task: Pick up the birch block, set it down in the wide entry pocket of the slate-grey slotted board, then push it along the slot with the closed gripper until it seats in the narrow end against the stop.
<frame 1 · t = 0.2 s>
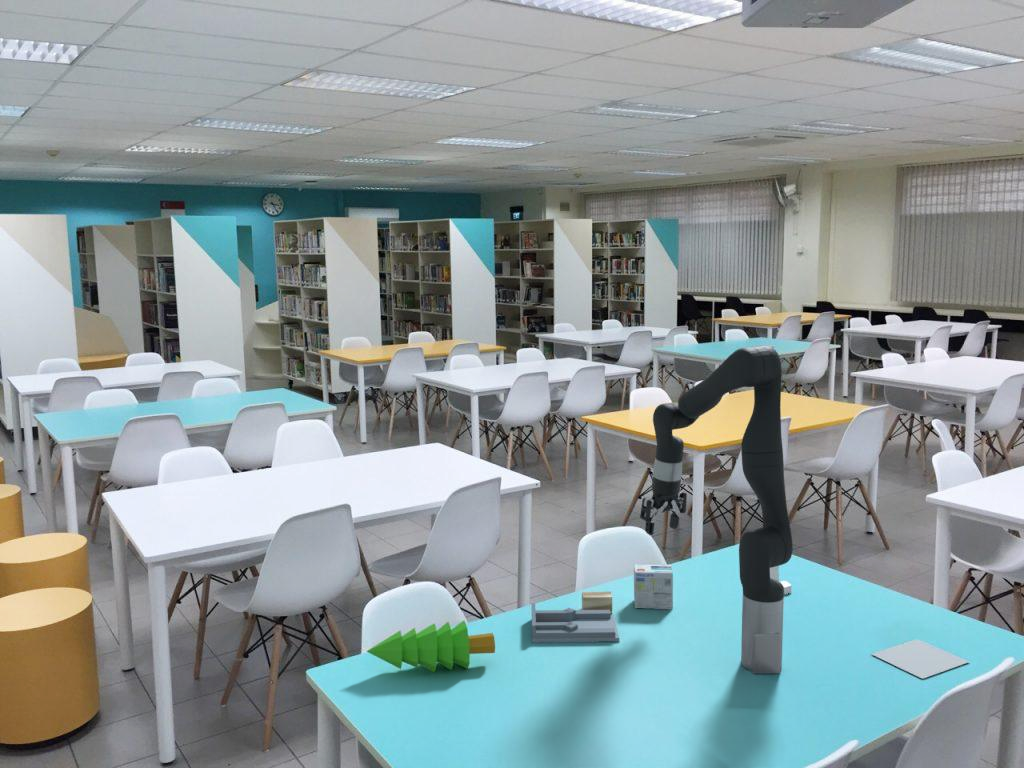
hand: (661, 530, 226), 23 cm above the table, tool pointing down, fingers open, 8 cm apart
light bulb box: (653, 605, 233), on the table
slot board: (574, 630, 218), on the table
paper stack: (913, 649, 205), on the table
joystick: (769, 591, 242), on the table
decorative tree: (431, 668, 198), on the table
birch block: (596, 611, 229), on the table
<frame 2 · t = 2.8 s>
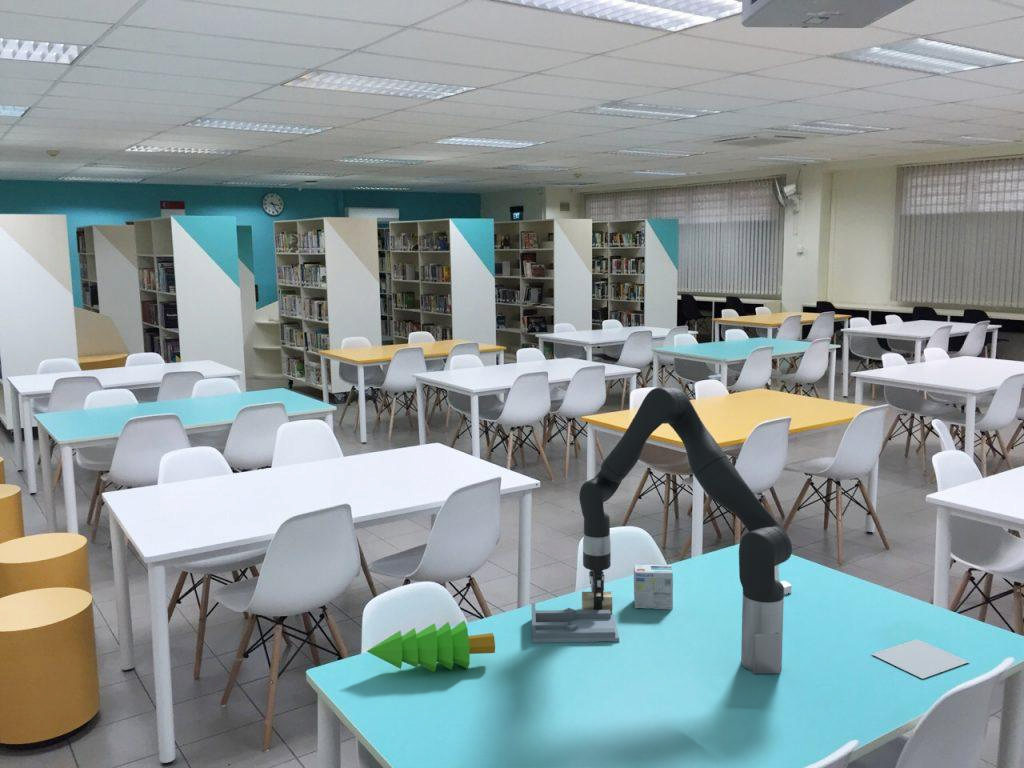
hand: (596, 607, 229), 1 cm above the table, tool pointing down, fingers open, 7 cm apart
nothing on the table moved.
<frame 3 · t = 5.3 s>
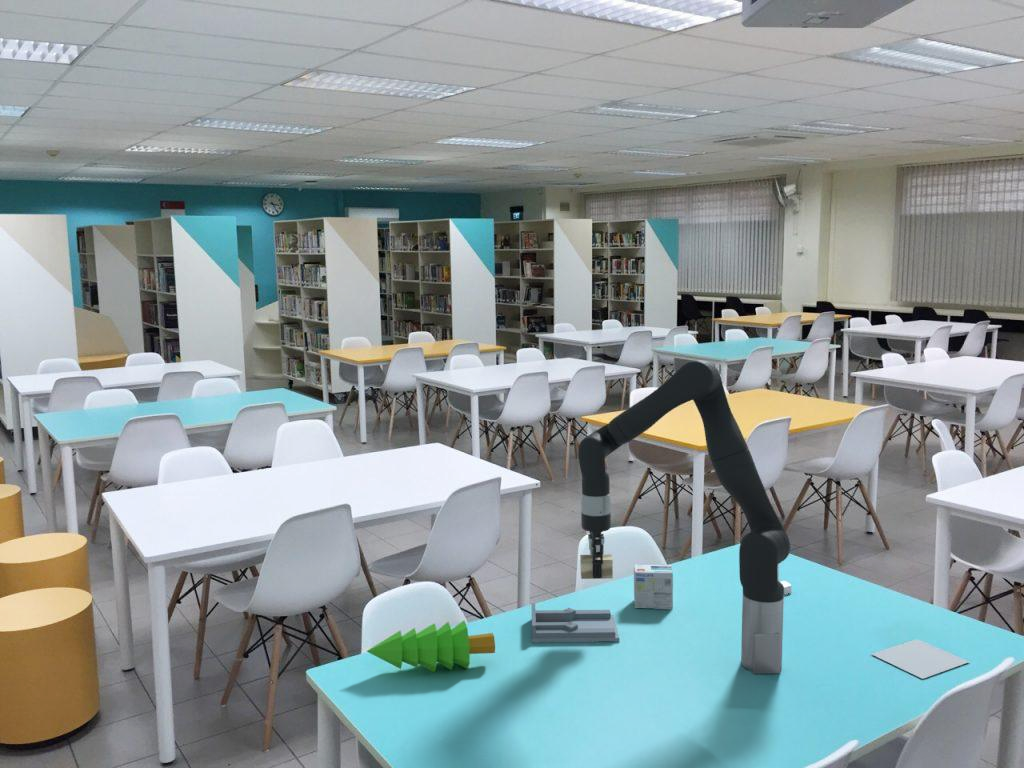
hand: (596, 574, 216), 15 cm above the table, tool pointing down, fingers closed on birch block, 4 cm apart
birch block: (596, 575, 216), point 15 cm above the table, touching gripper
everything else where it was.
when the fingers open (3 cm above the table, at t = 7.1 s): birch block drops 2 cm, resting on slot board.
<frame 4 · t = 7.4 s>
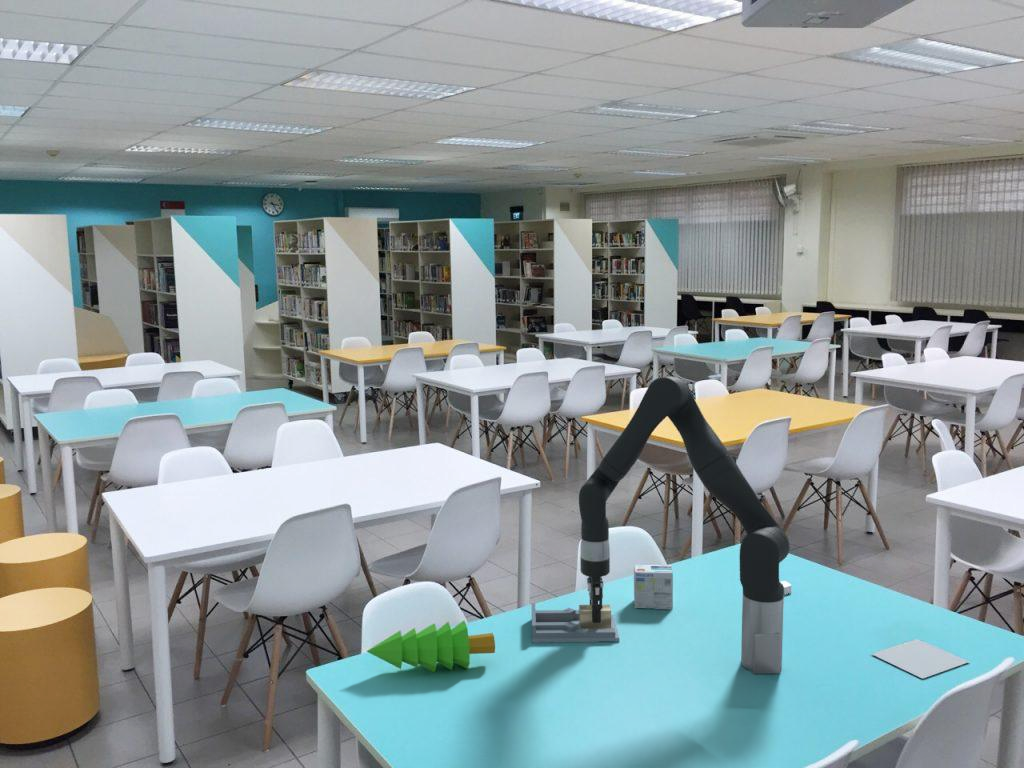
hand: (595, 616, 217), 4 cm above the table, tool pointing down, fingers open, 7 cm apart
birch block: (595, 626, 218), point 1 cm above the table, touching slot board
everything else where it was.
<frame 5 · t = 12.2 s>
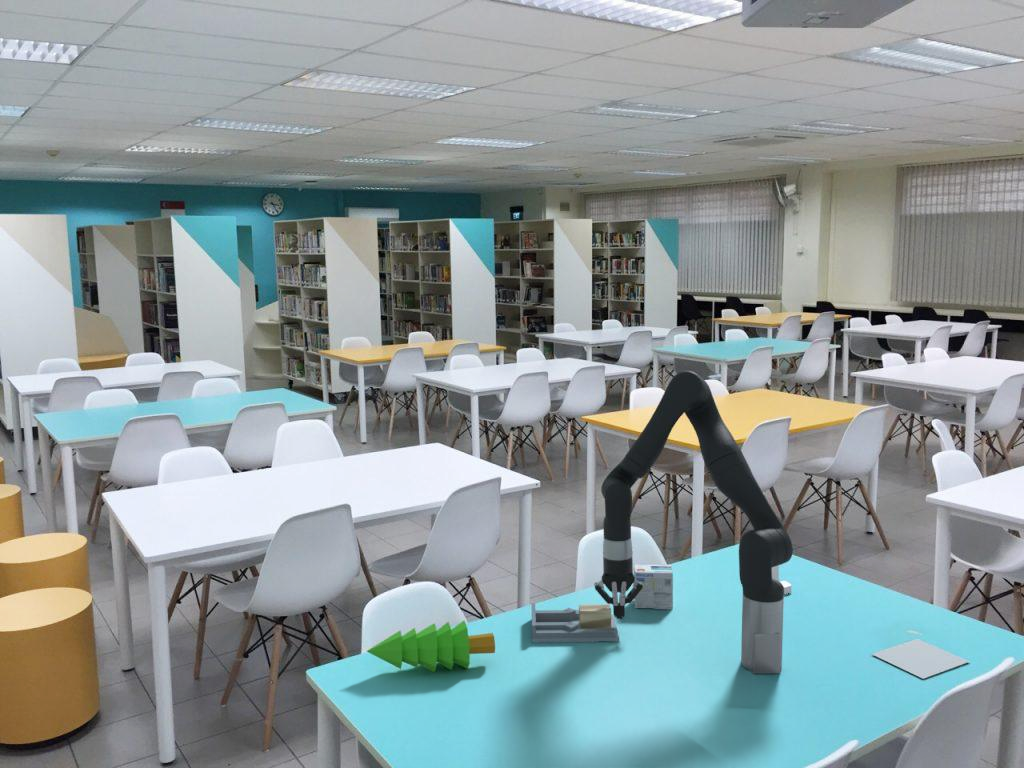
hand: (619, 617, 217), 3 cm above the table, tool pointing down, fingers closed
birch block: (595, 626, 218), point 1 cm above the table, touching gripper, slot board
everything else where it was.
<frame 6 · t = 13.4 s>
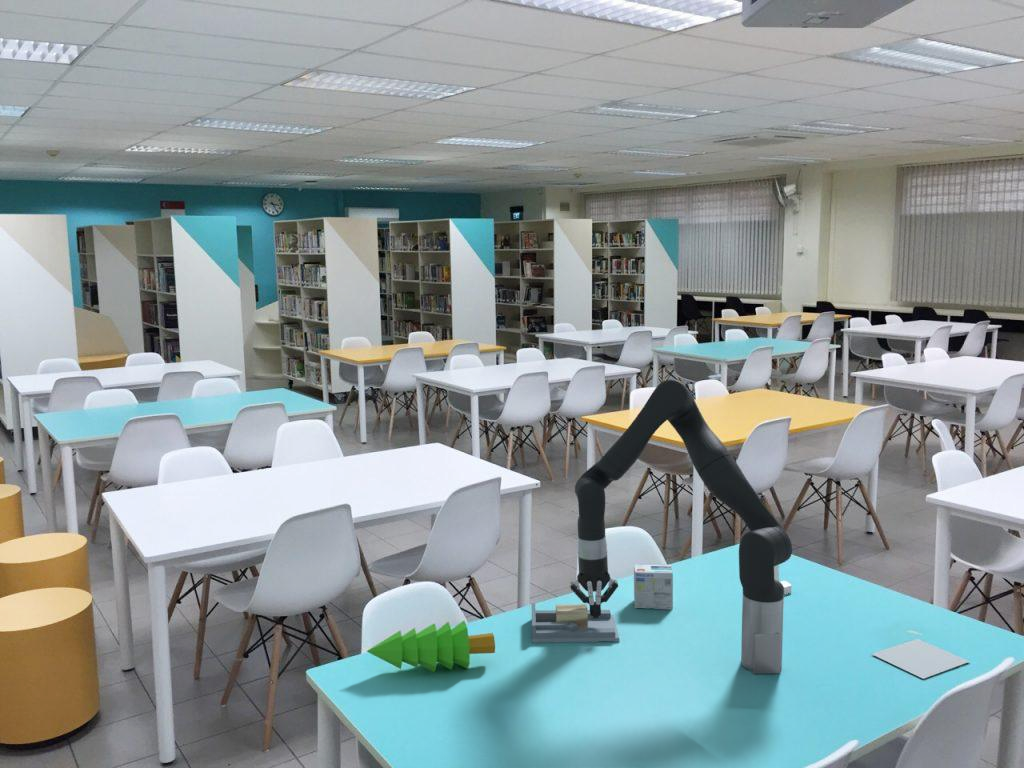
hand: (595, 616, 218), 3 cm above the table, tool pointing down, fingers closed
birch block: (571, 625, 218), point 1 cm above the table, touching gripper, slot board
everything else where it was.
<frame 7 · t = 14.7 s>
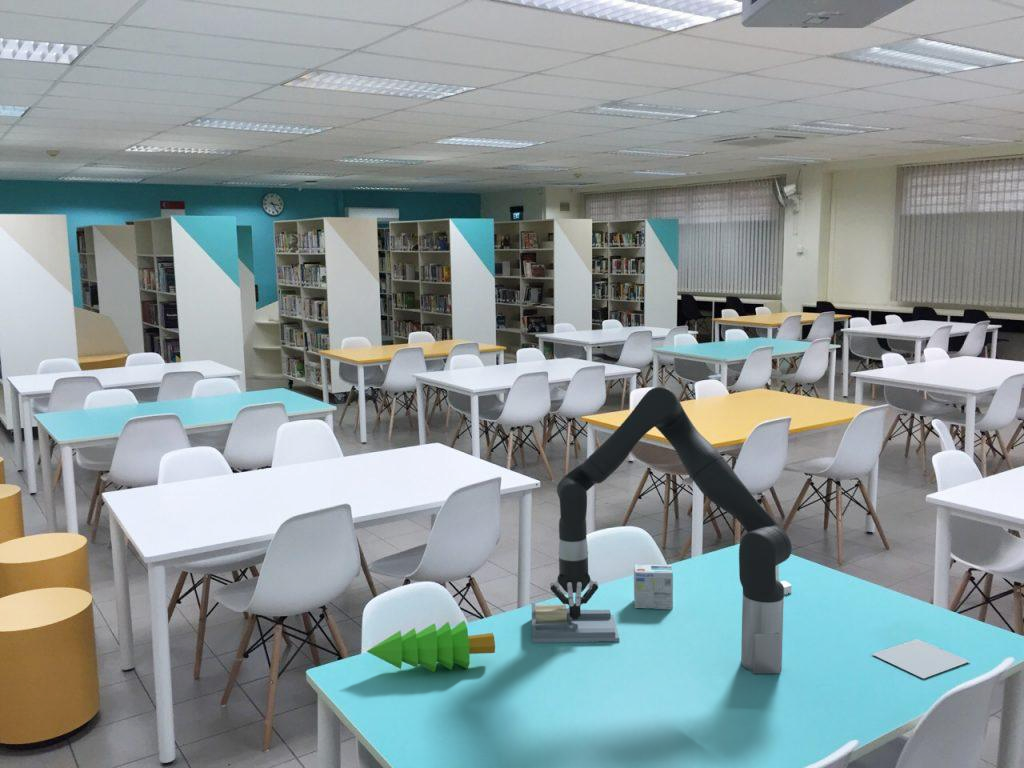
hand: (574, 618, 217), 3 cm above the table, tool pointing down, fingers closed
birch block: (551, 626, 218), point 1 cm above the table, touching gripper, slot board
everything else where it was.
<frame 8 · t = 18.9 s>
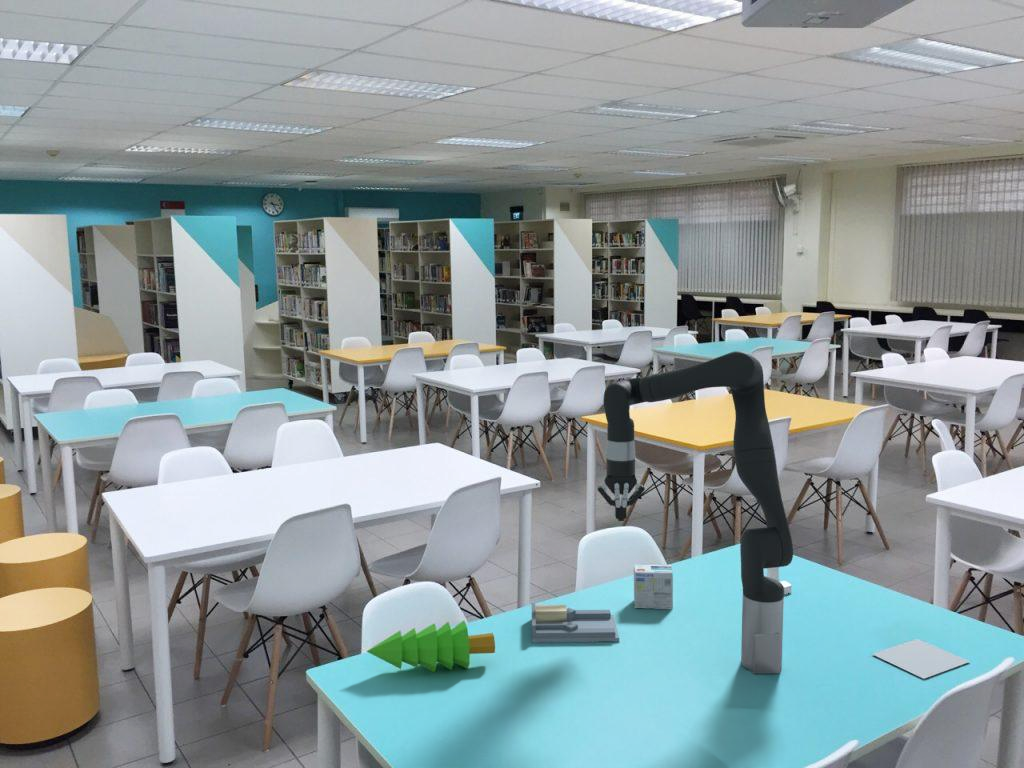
hand: (620, 520, 222), 27 cm above the table, tool pointing down, fingers closed
birch block: (551, 626, 218), point 1 cm above the table, touching slot board
everything else where it was.
at the end: birch block 0.3 cm from the target spot on the slot board, point 1.0 cm above the slot board's base; birch block tilted 0°; the gripper is holding nothing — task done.
